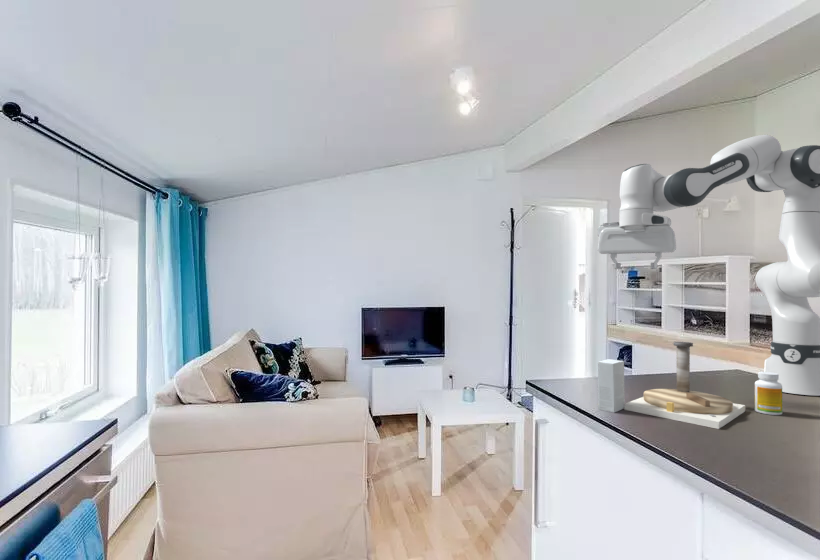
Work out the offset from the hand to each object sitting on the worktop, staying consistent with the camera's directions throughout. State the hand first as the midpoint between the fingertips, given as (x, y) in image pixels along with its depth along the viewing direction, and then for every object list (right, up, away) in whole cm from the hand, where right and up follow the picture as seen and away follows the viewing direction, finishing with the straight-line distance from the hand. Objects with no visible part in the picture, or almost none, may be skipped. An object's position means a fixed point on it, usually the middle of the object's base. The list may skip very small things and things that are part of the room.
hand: (635, 269), depth 132 cm
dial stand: (+3, -35, -18) cm, 40 cm away
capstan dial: (+4, -34, -18) cm, 38 cm away
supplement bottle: (+23, -36, -19) cm, 47 cm away
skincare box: (-15, -36, -18) cm, 42 cm away
